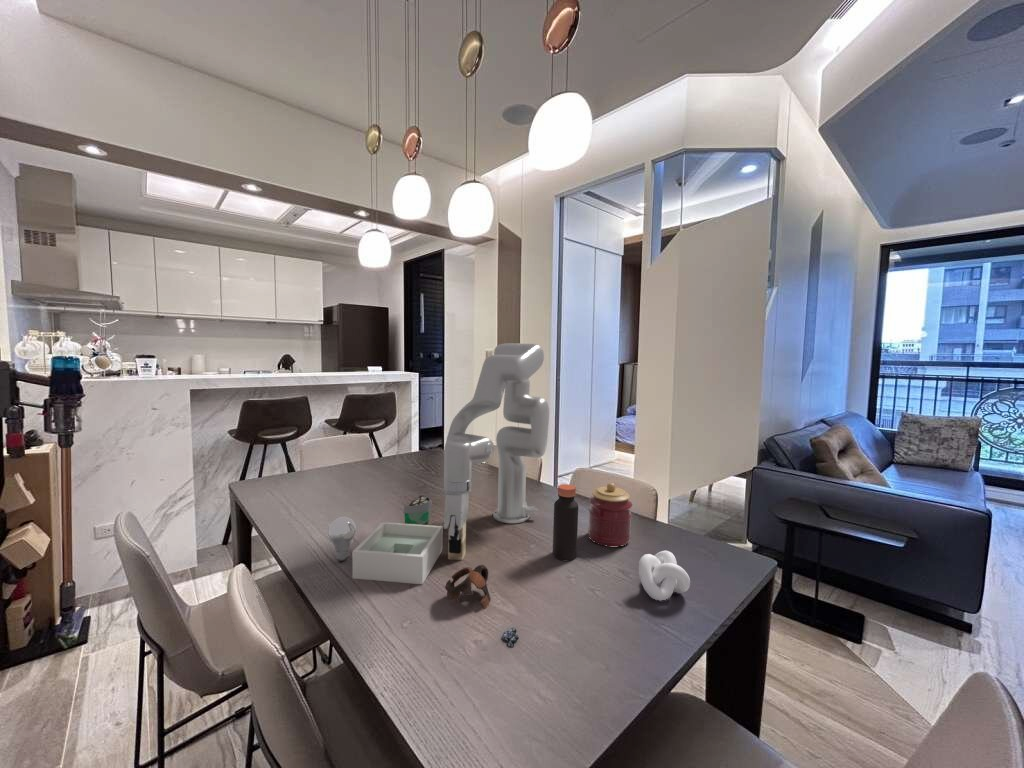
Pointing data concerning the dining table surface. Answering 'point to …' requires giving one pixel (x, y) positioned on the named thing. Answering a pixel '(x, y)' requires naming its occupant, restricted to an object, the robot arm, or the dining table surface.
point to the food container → (418, 510)
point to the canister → (610, 516)
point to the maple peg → (463, 544)
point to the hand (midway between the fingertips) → (457, 548)
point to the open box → (397, 555)
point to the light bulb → (342, 536)
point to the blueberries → (510, 637)
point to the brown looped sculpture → (469, 584)
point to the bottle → (565, 523)
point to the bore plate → (400, 544)
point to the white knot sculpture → (662, 575)
